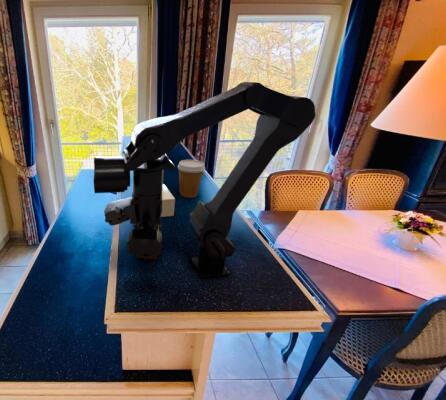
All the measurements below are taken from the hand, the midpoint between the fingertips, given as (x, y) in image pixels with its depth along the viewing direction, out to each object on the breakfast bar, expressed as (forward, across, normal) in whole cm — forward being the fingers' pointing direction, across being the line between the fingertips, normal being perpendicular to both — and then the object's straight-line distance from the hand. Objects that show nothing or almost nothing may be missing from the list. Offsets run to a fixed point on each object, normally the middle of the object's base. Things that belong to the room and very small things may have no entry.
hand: (145, 255), depth 58 cm
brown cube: (+5, -7, 0) cm, 9 cm away
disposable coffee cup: (+5, -44, +13) cm, 46 cm away
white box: (+5, -32, +1) cm, 32 cm away
